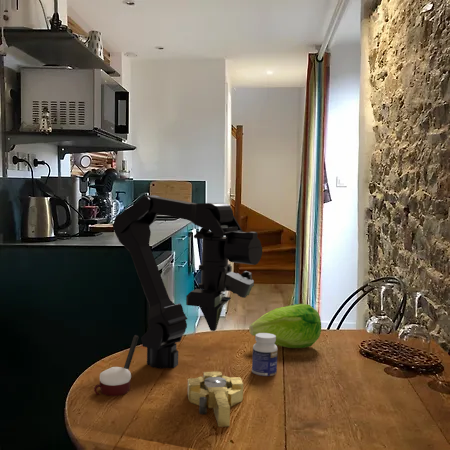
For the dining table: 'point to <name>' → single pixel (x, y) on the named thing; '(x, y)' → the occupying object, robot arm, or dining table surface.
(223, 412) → the wooden ring wrench
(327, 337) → the dining table surface
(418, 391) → the dining table surface
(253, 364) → the pill bottle
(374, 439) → the dining table surface
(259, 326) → the lettuce
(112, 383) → the cocoa
